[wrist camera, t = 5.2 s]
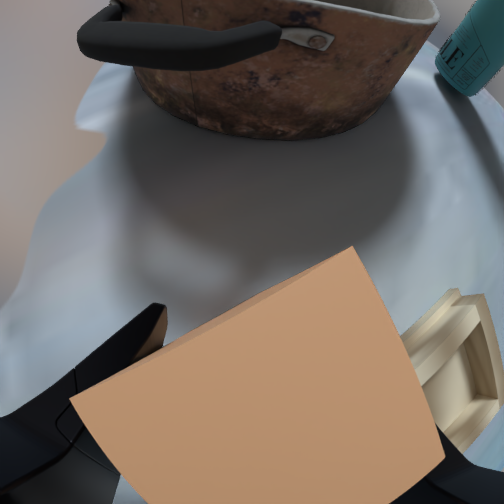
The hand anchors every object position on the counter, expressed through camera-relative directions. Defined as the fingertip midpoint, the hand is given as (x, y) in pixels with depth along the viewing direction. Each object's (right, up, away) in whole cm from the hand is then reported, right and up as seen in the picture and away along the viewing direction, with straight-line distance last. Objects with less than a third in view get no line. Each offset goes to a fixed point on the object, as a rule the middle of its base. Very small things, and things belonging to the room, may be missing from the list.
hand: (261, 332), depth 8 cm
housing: (+11, -8, +6) cm, 15 cm away
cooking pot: (+1, +20, +11) cm, 23 cm away
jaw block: (-1, -3, +6) cm, 7 cm away
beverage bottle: (+23, +22, +13) cm, 34 cm away
